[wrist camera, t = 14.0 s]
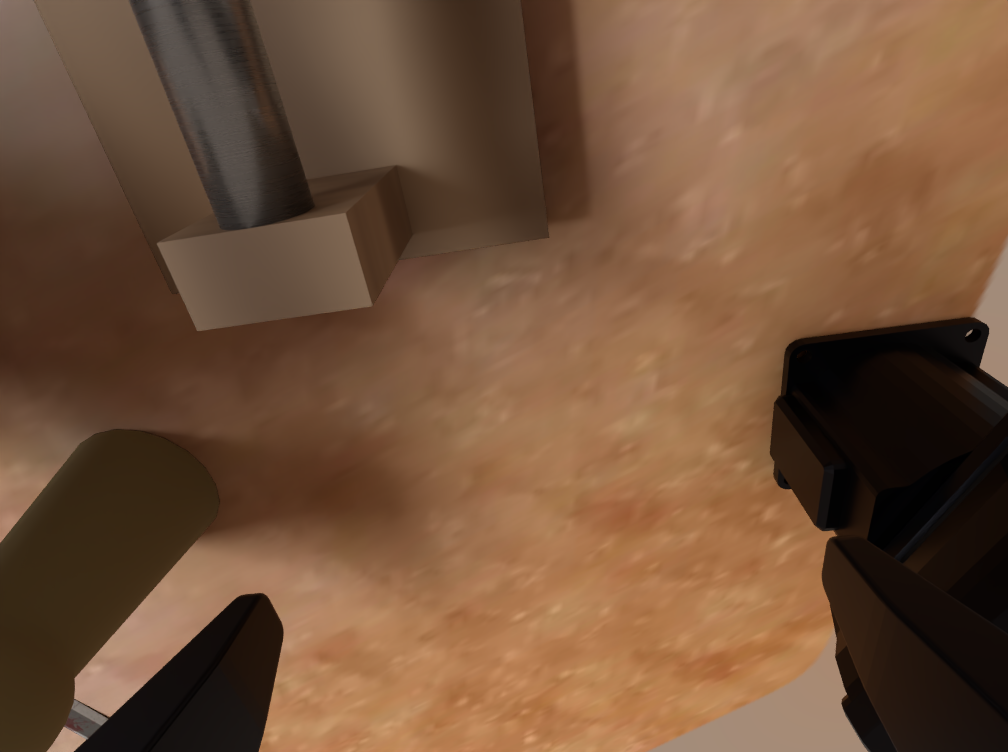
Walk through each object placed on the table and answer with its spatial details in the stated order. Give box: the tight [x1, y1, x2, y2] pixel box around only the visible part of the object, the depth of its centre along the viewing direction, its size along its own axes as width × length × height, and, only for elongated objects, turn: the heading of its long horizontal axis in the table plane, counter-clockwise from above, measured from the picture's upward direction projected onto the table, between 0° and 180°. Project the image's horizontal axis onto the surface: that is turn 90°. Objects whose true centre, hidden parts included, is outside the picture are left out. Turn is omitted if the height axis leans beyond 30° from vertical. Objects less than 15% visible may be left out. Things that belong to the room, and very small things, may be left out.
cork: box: [0, 429, 219, 752], centre depth 19 cm, size 6×6×11 cm
